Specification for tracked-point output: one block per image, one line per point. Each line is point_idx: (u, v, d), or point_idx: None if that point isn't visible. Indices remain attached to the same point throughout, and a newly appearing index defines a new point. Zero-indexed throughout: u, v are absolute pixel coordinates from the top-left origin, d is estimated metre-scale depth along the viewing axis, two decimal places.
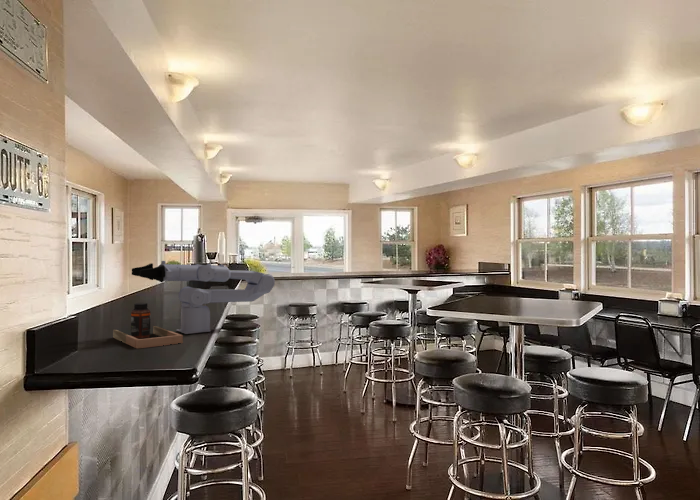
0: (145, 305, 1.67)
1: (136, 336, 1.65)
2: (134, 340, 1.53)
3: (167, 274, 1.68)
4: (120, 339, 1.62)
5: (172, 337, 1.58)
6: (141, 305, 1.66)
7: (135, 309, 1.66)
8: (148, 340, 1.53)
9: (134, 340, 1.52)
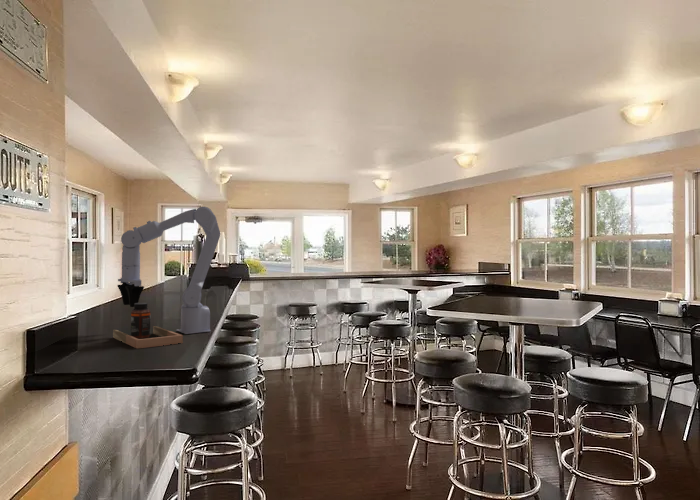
0: (145, 305, 1.67)
1: (136, 336, 1.65)
2: (134, 340, 1.53)
3: (138, 284, 1.70)
4: (120, 339, 1.62)
5: (172, 337, 1.58)
6: (141, 305, 1.66)
7: (135, 309, 1.66)
8: (148, 340, 1.53)
9: (134, 340, 1.52)
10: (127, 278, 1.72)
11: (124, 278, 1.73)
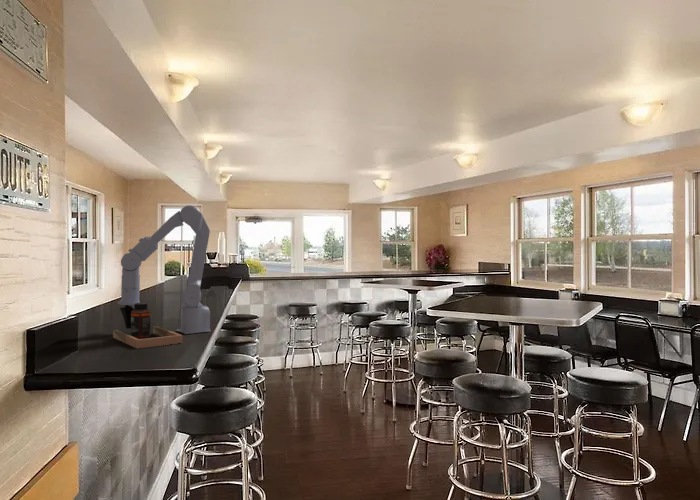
0: (145, 305, 1.67)
1: (136, 336, 1.65)
2: (134, 340, 1.53)
3: None
4: (120, 339, 1.62)
5: (172, 337, 1.58)
6: (141, 305, 1.66)
7: (135, 309, 1.66)
8: (148, 340, 1.53)
9: (134, 340, 1.52)
10: (127, 301, 1.73)
11: (124, 301, 1.73)
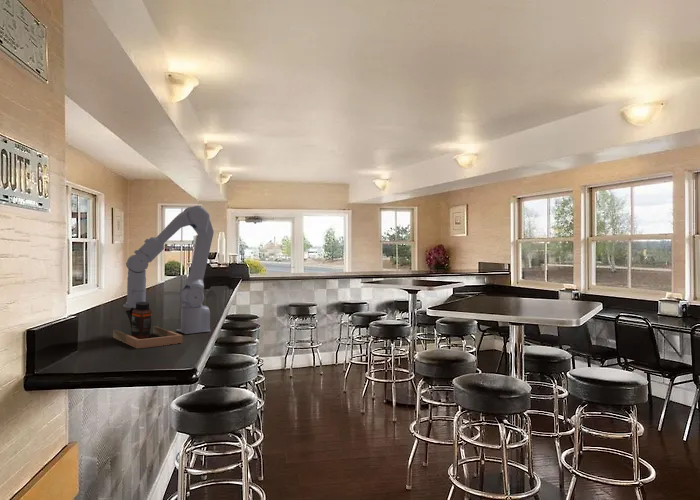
0: (147, 305, 1.66)
1: (136, 336, 1.65)
2: (134, 340, 1.53)
3: None
4: (120, 339, 1.62)
5: (172, 337, 1.58)
6: (143, 305, 1.65)
7: (136, 309, 1.65)
8: (148, 340, 1.53)
9: (134, 340, 1.52)
10: (133, 303, 1.68)
11: (129, 303, 1.68)
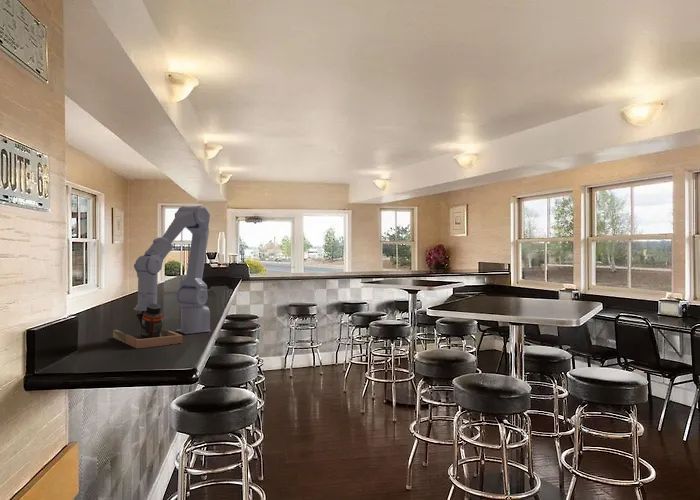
0: (158, 310, 1.58)
1: None
2: (134, 340, 1.53)
3: None
4: (120, 339, 1.62)
5: (172, 337, 1.58)
6: (154, 309, 1.57)
7: (147, 312, 1.58)
8: (148, 340, 1.53)
9: (134, 340, 1.52)
10: (144, 307, 1.61)
11: (140, 307, 1.61)
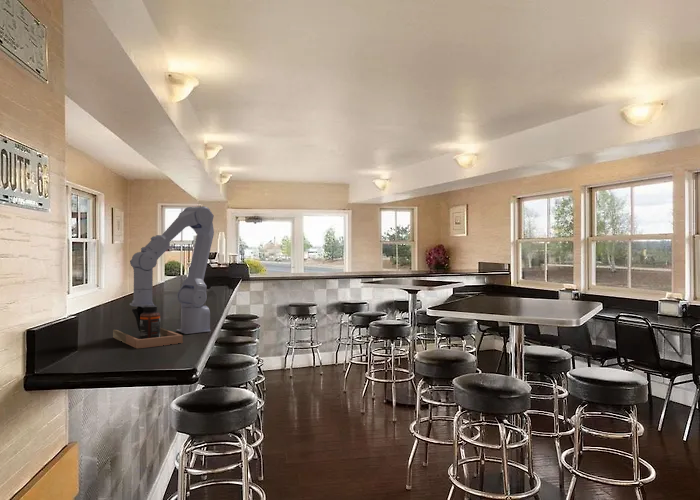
0: (155, 308, 1.61)
1: None
2: (134, 340, 1.53)
3: None
4: (120, 339, 1.62)
5: (172, 337, 1.58)
6: (150, 308, 1.60)
7: (144, 312, 1.60)
8: (148, 340, 1.53)
9: (134, 340, 1.52)
10: (139, 302, 1.64)
11: (136, 302, 1.64)
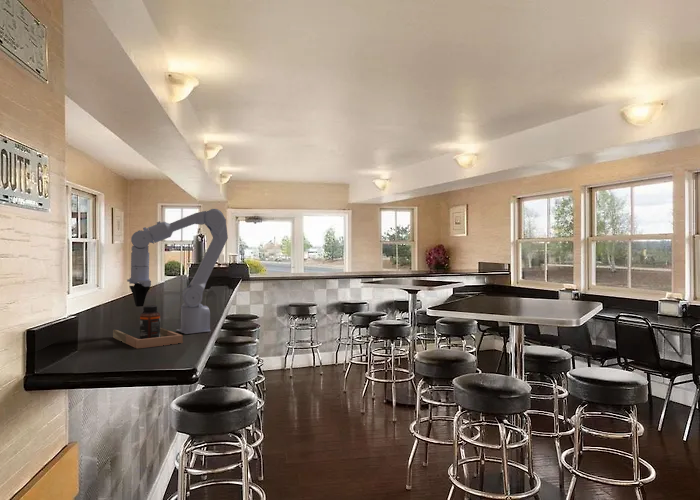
0: (155, 308, 1.61)
1: None
2: (134, 340, 1.53)
3: (148, 284, 1.69)
4: (120, 339, 1.62)
5: (172, 337, 1.58)
6: (150, 308, 1.60)
7: (144, 312, 1.60)
8: (148, 340, 1.53)
9: (134, 340, 1.52)
10: (136, 278, 1.72)
11: (133, 278, 1.72)
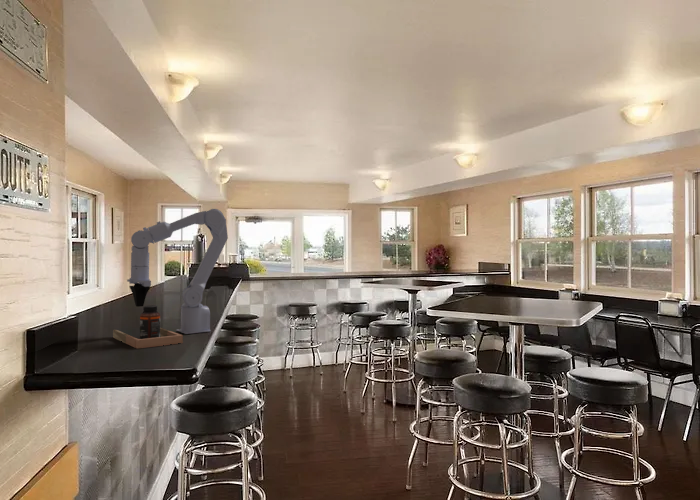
0: (155, 308, 1.61)
1: None
2: (134, 340, 1.53)
3: (148, 284, 1.69)
4: (120, 339, 1.62)
5: (172, 337, 1.58)
6: (150, 308, 1.60)
7: (144, 312, 1.60)
8: (148, 340, 1.53)
9: (134, 340, 1.52)
10: (136, 278, 1.72)
11: (133, 278, 1.72)
